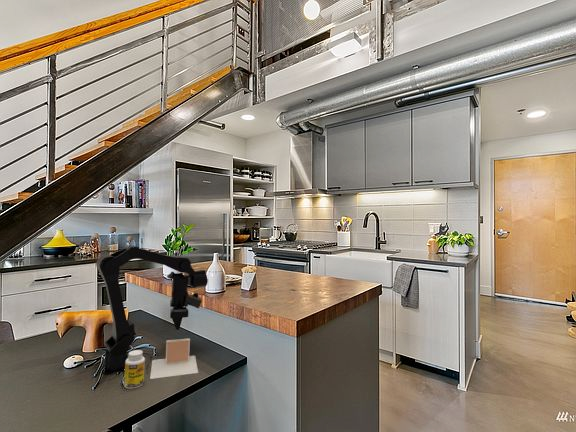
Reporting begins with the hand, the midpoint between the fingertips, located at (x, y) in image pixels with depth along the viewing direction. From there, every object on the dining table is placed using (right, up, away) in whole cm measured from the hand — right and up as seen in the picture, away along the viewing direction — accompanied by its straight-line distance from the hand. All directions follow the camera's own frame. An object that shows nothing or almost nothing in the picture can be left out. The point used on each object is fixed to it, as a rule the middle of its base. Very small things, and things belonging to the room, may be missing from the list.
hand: (177, 329), depth 121 cm
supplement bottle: (-5, -9, -23) cm, 26 cm away
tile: (+2, -9, -8) cm, 12 cm away
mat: (+3, -9, -11) cm, 14 cm away
